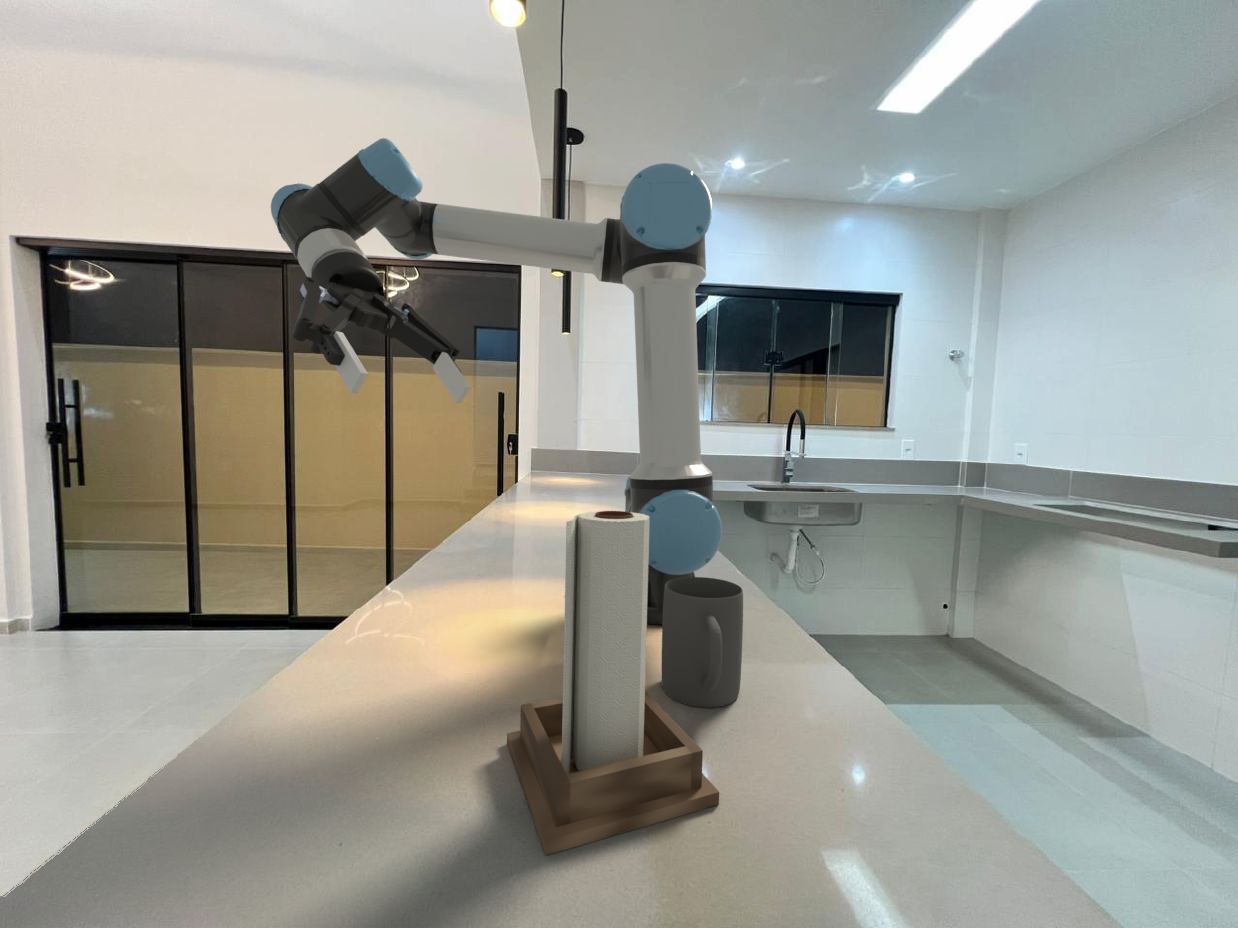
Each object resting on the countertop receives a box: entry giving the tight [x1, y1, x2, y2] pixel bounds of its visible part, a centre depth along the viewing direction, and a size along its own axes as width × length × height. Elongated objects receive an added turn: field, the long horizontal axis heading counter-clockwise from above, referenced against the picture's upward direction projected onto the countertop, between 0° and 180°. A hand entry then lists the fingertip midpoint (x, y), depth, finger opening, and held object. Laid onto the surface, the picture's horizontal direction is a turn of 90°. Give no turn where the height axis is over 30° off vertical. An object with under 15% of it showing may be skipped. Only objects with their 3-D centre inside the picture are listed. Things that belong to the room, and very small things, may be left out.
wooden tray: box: [506, 690, 720, 856], centre depth 44 cm, size 14×14×4 cm
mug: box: [660, 576, 744, 709], centre depth 57 cm, size 14×9×12 cm
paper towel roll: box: [562, 510, 650, 774], centre depth 44 cm, size 7×6×21 cm
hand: (416, 390), depth 59 cm, fingers open, 13 cm apart
